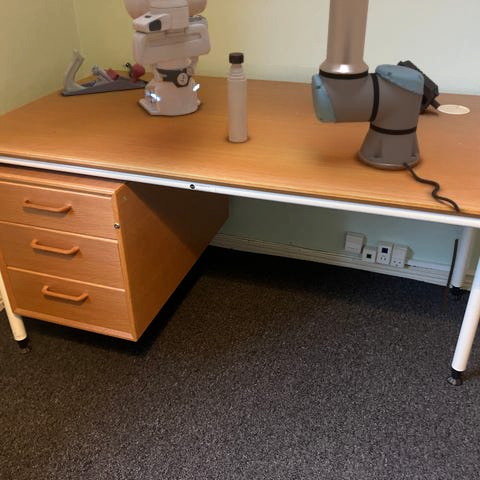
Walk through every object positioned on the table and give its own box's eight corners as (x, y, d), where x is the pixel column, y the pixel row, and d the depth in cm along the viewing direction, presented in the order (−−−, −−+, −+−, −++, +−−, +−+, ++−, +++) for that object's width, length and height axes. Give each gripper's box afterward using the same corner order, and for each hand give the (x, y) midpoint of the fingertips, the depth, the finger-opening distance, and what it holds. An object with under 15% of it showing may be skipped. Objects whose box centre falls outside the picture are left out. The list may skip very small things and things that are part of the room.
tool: (378, 91, 179) (405, 54, 169) (421, 128, 175) (451, 93, 164) (370, 95, 176) (396, 58, 165) (413, 134, 171) (443, 98, 161)
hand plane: (62, 90, 197) (53, 48, 189) (145, 82, 205) (140, 41, 197) (62, 96, 191) (54, 53, 184) (148, 87, 199) (143, 45, 191)
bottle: (245, 134, 156) (244, 52, 143) (249, 141, 151) (248, 57, 139) (227, 136, 155) (224, 53, 143) (230, 143, 150) (228, 58, 138)
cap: (242, 60, 144) (242, 51, 143) (245, 63, 140) (245, 55, 139) (228, 61, 143) (227, 52, 142) (230, 64, 140) (230, 56, 139)
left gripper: (199, 12, 133) (203, 69, 141) (125, 22, 123) (133, 82, 130) (213, 15, 129) (216, 73, 136) (138, 25, 119) (145, 88, 126)
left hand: (175, 78), depth 133 cm, fingers open, 8 cm apart
